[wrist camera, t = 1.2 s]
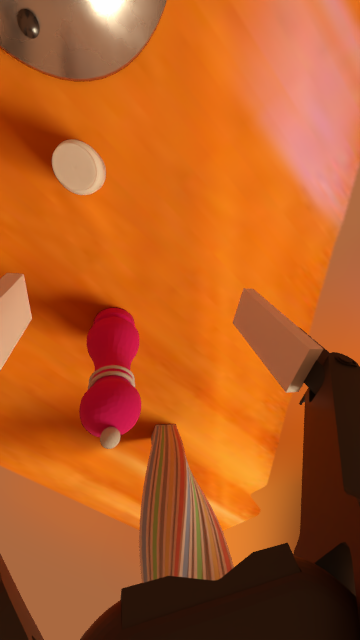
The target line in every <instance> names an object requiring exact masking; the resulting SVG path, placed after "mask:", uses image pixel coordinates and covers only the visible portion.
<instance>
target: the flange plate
mask: <svg viewBox="0 0 360 640" xmlns="http://www.w3.org/2000/svg"><path fill="white" fill-rule="evenodd" d="M166 1H167V0H0V47H1V48H2V49H3V50H5V51H6V52H7V53H9V54H10V55H11V56H12V57H14V58H16V59H17V60H19V61H20V62H22V63H24V64H25V65H27V66H29V67H31V68H33V69H35V70H37V71H39V72H41V73H43V74H46V75H49V76H52V77H55V78H58V79H62V80H69V81H75V82H76V81H93V80H98V79H103V78H106V77H108V76H110V75H113V74H115V73H117V72H118V71H120V70H122V69H123V68H125V67H126V66H128V65H129V64H130V63H131V62H132V61H133V60H134V59H135V58H136V57H137V56H138V55H139V54H140V52H141V51H142V50H143V49H144V47H145V46H146V45H147V43H148V42H149V40H150V38H151V37H152V35H153V33H154V31H155V30H156V27H157V25H158V23H159V20H160V18H161V16H162V13H163V11H164V7H165V4H166Z"/></svg>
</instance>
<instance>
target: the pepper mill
mask: <svg viewBox="0 0 360 640" xmlns="http://www.w3.org/2000/svg"><path fill="white" fill-rule="evenodd" d="M138 348H139V334H138V331H137V329H136V328H135V324H134V320H133V317H132V316H131V315H130V314H129V313H128V312H127V311H125V310H123V309H120V308H108V309H105V310H103V311H101V312H100V313H98V314H97V316H96V317H95V319H94V323H93V326H92V327H91V329H90V330H89V332H88V335H87V349H88V353H89V355H90V357H91V358H92V360H93V362H94V365H95V372H94V373H93V374H92V375H91V377H90V379H89V386H88V391H87V392H86V393H85V394H84V396H83V398H82V400H81V404H80V411H79V412H80V419H81V422H82V425H83V426H84V428H85V429H86V430H87V431H88V432H89V433H90V434H92V435H94V436H97V437H100V442H101V445H102V446H103V447H104V448H107V449H111V448H114V447H115V446H116V445H117V444H118V443H119V441H120V435H122V434H124V433H126V432H128V431H129V430H130V429H131V428H132V427H133V426H134V425H135V424H136V422H137V420H138V418H139V415H140V411H141V399H140V395H139V393H138V391H137V390H136V388H135V383H134V382H135V379H134V375H133V374H132V372H131V371H130V365H131V362H132V360H133V358H134V357H135V355H136V353H137V351H138Z"/></svg>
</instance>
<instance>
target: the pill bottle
mask: <svg viewBox="0 0 360 640" xmlns="http://www.w3.org/2000/svg"><path fill="white" fill-rule="evenodd" d="M52 168H53V171H54V173H55V175H56V177H57V179H58V180H59V182H60V183H61V184H62V185H63V186H64V187H65V188H66V189H67V190H69V191H71V192H73V193H75V194H79V195H89V194H92V193H94V192H95V191H97V190H99V189H100V188H101V187H102V185H103V184H104V181H105V177H106V169H105V165H104V163H103V160H102V159H101V157H100V156H99V154H98V153H97V152H96V151H95V150H94V149H93V148H92V147H90V146H89V145H88V144H86V143H84V142H82V141H79V140H74V139H70V140H65V141H63V142H62V143H60V144H59V145H58V146H57V148H56V149H55V151H54V152H53V155H52Z"/></svg>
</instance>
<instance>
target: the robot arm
mask: <svg viewBox="0 0 360 640" xmlns="http://www.w3.org/2000/svg"><path fill="white" fill-rule="evenodd" d="M31 319H32V315H31V310H30V305H29V299H28V294H27V289H26V283H25V278H24V274H16V273H6V274H5V275H4V276H3V277H2V278H1V279H0V370H1V368H2V367H3V365H4V364H5V362H6V360H7V359H8V357H9V355H10V354H11V352H12V350H13V349H14V347H15V346H16V344H17V342H18V341H19V339H20V337H21V336H22V334H23V332H24V331H25V329H26V328H27V326H28V324H29V323H30V321H31ZM233 324H234V325H235V326H236V328H237V329H238V330H239V332H240V333H241V334H242V336H243V337H244V338H245V339H246V341H247V342H248V343H249V345H250V346H251V347H252V349H253V350H254V351H255V353H256V354H257V355H258V356H259V358H260V359H261V360H262V362H263V363H264V364H265V366H266V367H267V368H268V370H269V371H270V372H271V373H272V375H273V376H274V377H275V379H276V380H277V381H278V383H279V384H280V385H281V387H282V388H283V389H284V390H285V392H298V391H299V390H300V388H301V387H302V385H303V383H305V384H306V385H307V386H308V387H309V388H308V389H307V391H306V393H305V394H304V396H303V398H302V399H301V401H300V403H299V404H300V405H302V403H303V402H305V418H304V443H303V471H302V498H301V526H300V536H299V540H298V542H297V545H296V548H295V550H294V554H293V553H292V551H291V549H290V547H289V545H288V543H285V544H281V545H278V546H274V547H270V548H267V549H263V550H259V551H256V552H253V553H251V554H250V555H249V556H248V557H247V558H245V559H244V560H243V561H242V562H240V563H239V564H238V565H237V566H235V567H234V568H233V569H232V570H230V571H229V572H228V573H227V574H225V575H224V576H223V577H222V578H220V579H218V580H204V579H195V578H186V577H177V576H166V577H162V578H159V579H155V580H151V581H148V582H144V583H141V584H137V585H133V586H130V587H127V588H123V589H122V591H121V600H120V601H118V602H117V603H116V604H114V605H113V606H112V607H110V608H109V609H108V610H106V611H105V612H104V613H103V614H102V615H101V616H100V617H99V618H98V619H97V620H96V621H95V622H94V623H93V624H92V625H91V627H90V628H89V629H88V630H87V631H86V632H85V633H84V635H83V636H82V638H81V639H80V640H360V367H359V365H358V364H357V363H356V362H355V361H354V360H353V359H351V358H349V357H348V356H345V355H343V354H340V353H335V352H332V353H329V352H328V351H327V350H325V349H324V348H323V347H322V346H321V345H319V344H318V343H317V342H316V341H315V340H313V339H312V338H311V337H310V336H309V335H307V333H305V332H304V331H303V330H302V329H301V328H299V327H297V326H296V325H295V324H294V323H293V322H291V321H290V320H289V319H288V318H287V317H286V316H284V315H283V314H282V313H281V312H280V311H279V310H277V309H276V308H275V307H274V306H273V305H271V304H270V303H269V302H268V301H267V300H266V299H264V298H263V297H262V296H261V295H260V294H259V293H257V292H256V291H255V290H254V289H243V292H242V295H241V298H240V301H239V305H238V308H237V311H236V314H235V317H234V320H233ZM0 640H44V639H43V637H42V635H41V633H40V631H39V630H38V628H37V626H36V624H35V622H34V620H33V618H32V617H31V615H30V613H29V611H28V609H27V607H26V605H25V603H24V601H23V599H22V597H21V595H20V593H19V591H18V589H17V587H16V585H15V583H14V581H13V579H12V577H11V575H10V573H9V571H8V569H7V567H6V565H5V563H4V560H3V559H2V556H1V554H0Z"/></svg>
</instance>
